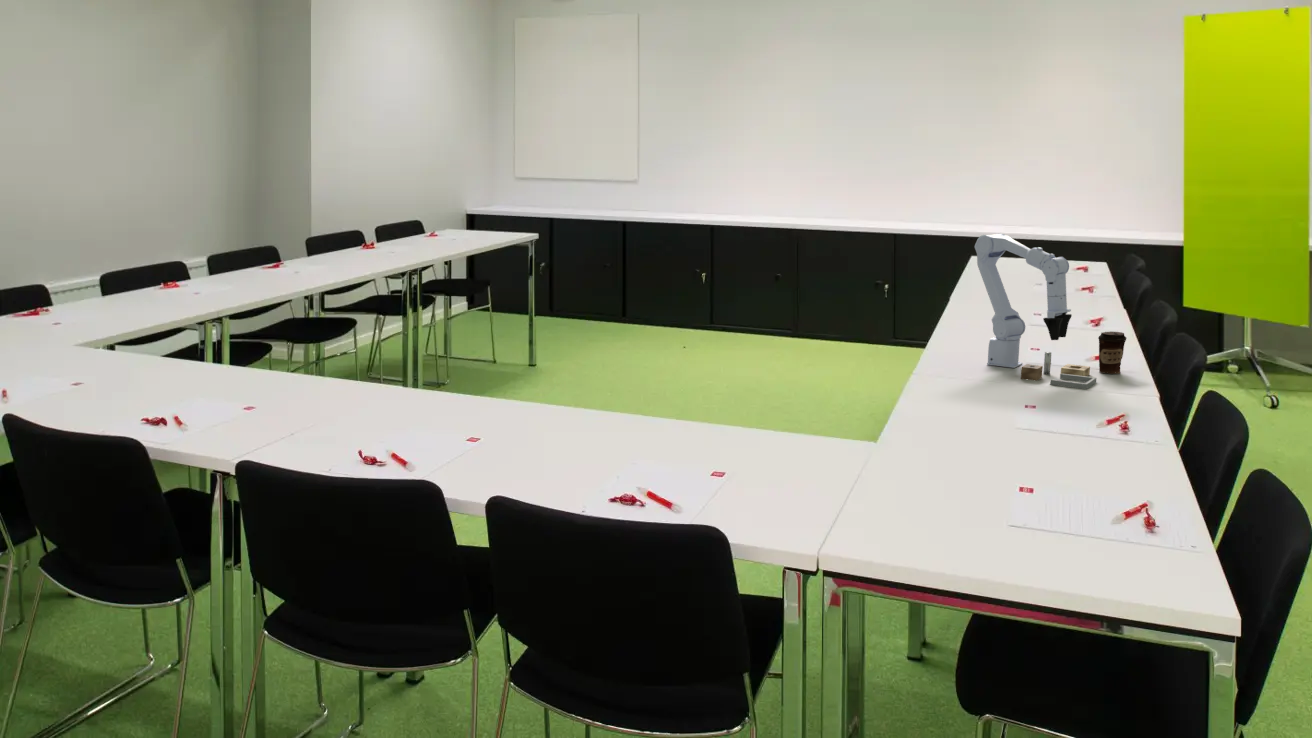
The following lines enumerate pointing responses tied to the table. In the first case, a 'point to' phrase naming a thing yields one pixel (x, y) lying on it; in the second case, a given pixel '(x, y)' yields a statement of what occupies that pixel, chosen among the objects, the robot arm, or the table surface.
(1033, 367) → the walnut block
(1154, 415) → the table surface
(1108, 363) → the coffee cup
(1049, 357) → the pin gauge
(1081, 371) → the oak block
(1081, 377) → the grey arch piece
